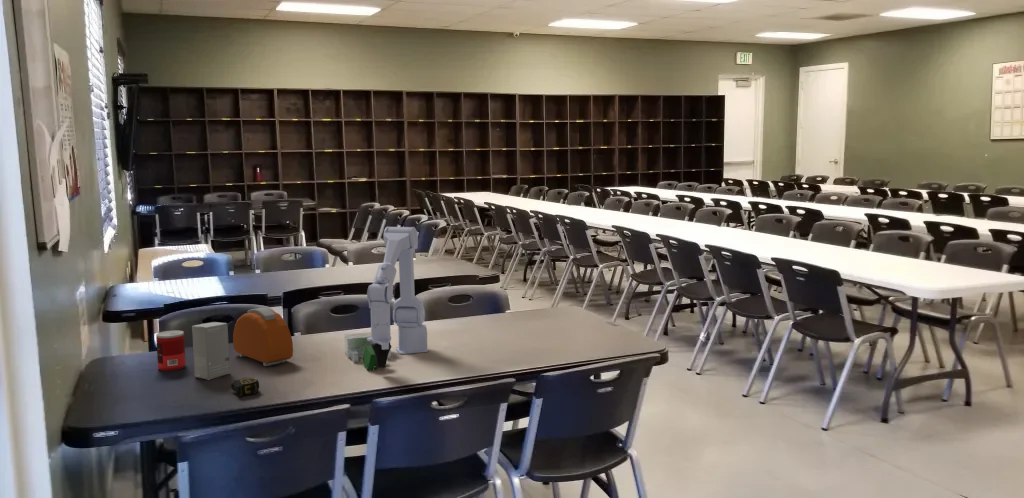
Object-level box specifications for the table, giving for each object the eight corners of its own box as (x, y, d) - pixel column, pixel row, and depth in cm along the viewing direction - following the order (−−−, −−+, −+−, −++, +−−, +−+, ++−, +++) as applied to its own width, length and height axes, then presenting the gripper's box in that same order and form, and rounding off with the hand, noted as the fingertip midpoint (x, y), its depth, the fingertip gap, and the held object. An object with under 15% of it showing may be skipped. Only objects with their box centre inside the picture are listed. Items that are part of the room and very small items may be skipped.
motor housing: (386, 349, 257) (386, 329, 256) (394, 359, 245) (393, 338, 244) (345, 353, 252) (344, 332, 251) (350, 363, 240) (349, 341, 239)
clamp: (381, 381, 235) (389, 360, 232) (363, 379, 233) (371, 357, 230) (378, 359, 244) (385, 338, 241) (361, 356, 242) (368, 336, 239)
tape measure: (230, 392, 211) (230, 379, 211) (255, 388, 215) (255, 375, 215) (237, 399, 206) (236, 385, 205) (262, 394, 210) (261, 381, 209)
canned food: (191, 365, 237) (189, 331, 236) (172, 372, 230) (170, 337, 228) (171, 363, 240) (169, 329, 238) (152, 369, 232) (150, 335, 231)
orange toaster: (294, 363, 240) (292, 311, 238) (268, 369, 234) (266, 316, 232) (257, 350, 256) (255, 301, 254) (232, 355, 250) (230, 305, 248)
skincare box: (208, 380, 221) (206, 328, 219) (192, 377, 225) (189, 325, 223) (232, 373, 229) (229, 322, 227) (215, 370, 232) (213, 319, 230)
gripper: (363, 319, 231) (364, 362, 233) (371, 329, 218) (372, 375, 219) (386, 317, 234) (386, 359, 235) (395, 327, 220) (396, 372, 222)
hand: (381, 367), depth 228 cm, fingers closed
